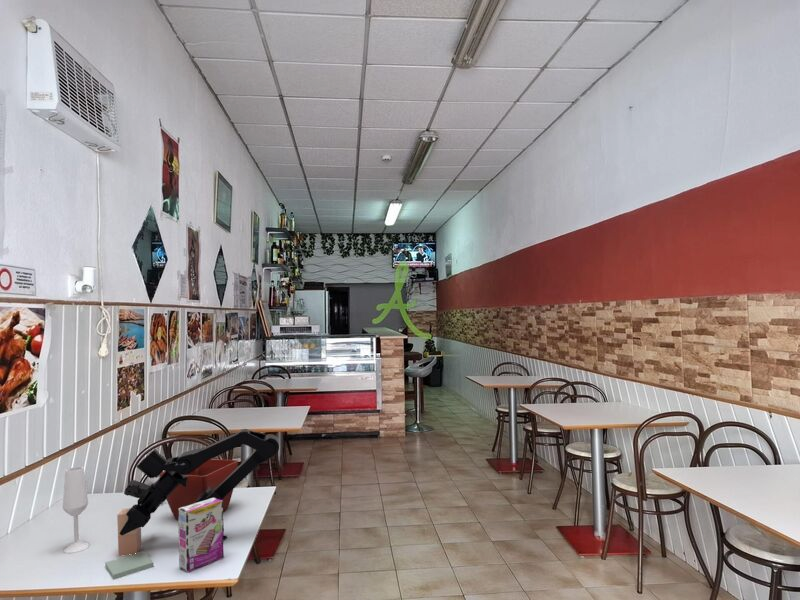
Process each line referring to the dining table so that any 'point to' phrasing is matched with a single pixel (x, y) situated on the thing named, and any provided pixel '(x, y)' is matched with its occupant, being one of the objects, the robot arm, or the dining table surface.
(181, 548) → the candy bar box
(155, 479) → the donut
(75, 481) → the champagne flute
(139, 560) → the base plate
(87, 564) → the dining table surface
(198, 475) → the plant pot
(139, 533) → the peach rectangular block
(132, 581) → the dining table surface
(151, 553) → the dining table surface
